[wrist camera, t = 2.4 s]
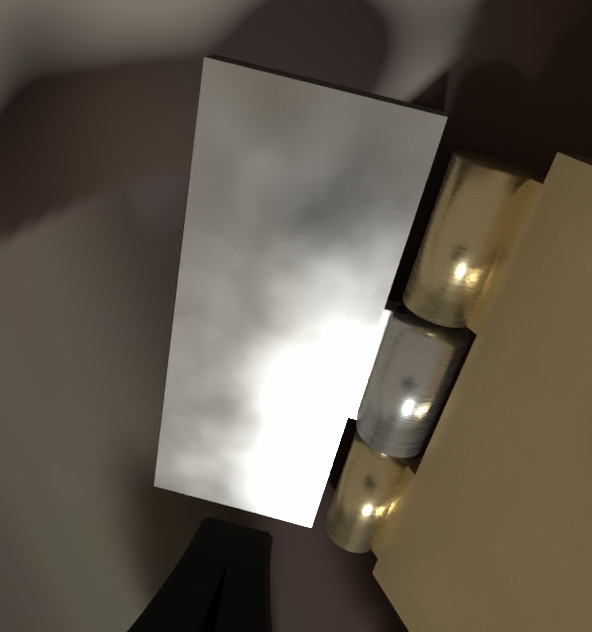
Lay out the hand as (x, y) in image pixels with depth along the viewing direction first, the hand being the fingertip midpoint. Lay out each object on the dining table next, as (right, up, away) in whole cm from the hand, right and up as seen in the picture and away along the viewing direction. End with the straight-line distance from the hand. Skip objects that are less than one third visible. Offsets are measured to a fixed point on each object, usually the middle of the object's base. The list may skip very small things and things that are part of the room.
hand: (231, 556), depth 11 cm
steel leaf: (+2, +4, +8) cm, 9 cm away
